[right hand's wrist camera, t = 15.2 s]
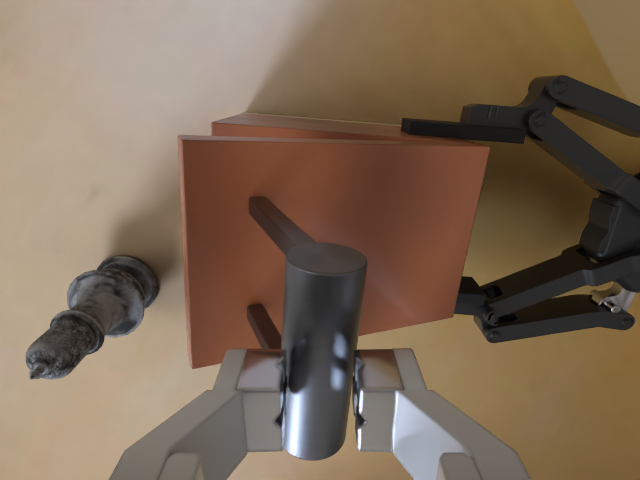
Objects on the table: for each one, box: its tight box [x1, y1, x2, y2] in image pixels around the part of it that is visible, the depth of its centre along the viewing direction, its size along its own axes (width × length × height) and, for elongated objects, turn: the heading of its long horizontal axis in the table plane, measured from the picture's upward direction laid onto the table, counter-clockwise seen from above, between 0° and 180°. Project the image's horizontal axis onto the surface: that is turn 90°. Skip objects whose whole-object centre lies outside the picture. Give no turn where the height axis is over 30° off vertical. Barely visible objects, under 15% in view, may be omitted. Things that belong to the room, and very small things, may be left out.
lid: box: [178, 135, 490, 461], centre depth 16 cm, size 14×10×9 cm
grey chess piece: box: [26, 256, 158, 379], centre depth 29 cm, size 6×6×12 cm
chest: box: [212, 112, 475, 144], centre depth 27 cm, size 14×10×10 cm
